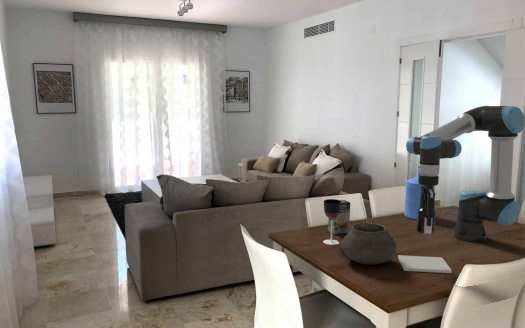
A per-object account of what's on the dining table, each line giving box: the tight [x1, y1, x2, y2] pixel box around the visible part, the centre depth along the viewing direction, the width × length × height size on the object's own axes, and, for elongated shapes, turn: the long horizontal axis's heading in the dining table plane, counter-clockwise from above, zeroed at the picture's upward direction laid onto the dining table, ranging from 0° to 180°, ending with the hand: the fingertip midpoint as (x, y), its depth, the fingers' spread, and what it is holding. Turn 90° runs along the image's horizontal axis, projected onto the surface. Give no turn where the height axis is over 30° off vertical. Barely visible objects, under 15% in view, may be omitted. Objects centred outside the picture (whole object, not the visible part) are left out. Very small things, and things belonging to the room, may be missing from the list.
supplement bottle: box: [415, 202, 437, 235], centre depth 171 cm, size 7×7×12 cm
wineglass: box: [323, 198, 341, 246], centre depth 201 cm, size 8×9×20 cm
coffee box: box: [327, 199, 351, 235], centre depth 218 cm, size 9×6×16 cm
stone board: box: [397, 254, 453, 274], centre depth 174 cm, size 18×14×1 cm
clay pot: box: [341, 222, 397, 265], centre depth 177 cm, size 22×21×15 cm
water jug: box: [403, 168, 435, 221], centre depth 246 cm, size 16×16×28 cm
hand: (425, 230), depth 172 cm, fingers closed on supplement bottle, 7 cm apart
